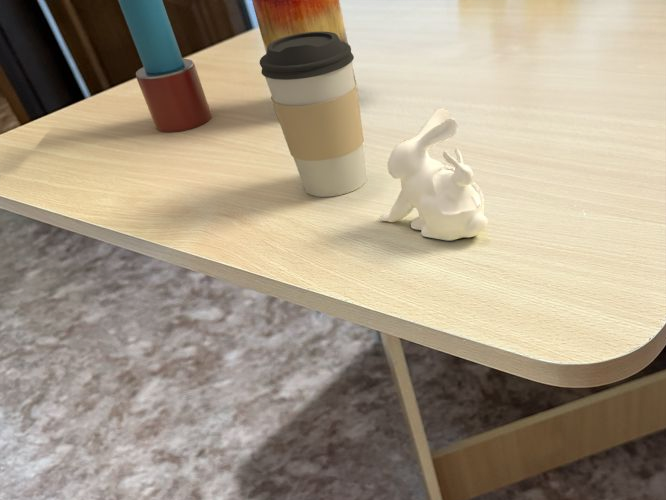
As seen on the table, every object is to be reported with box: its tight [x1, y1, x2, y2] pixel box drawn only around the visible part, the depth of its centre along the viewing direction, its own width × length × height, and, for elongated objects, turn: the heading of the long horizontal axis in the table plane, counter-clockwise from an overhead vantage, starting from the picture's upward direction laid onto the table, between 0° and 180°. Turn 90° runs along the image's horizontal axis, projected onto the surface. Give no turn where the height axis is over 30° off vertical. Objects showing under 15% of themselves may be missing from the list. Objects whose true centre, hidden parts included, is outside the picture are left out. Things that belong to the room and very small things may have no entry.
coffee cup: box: [259, 32, 368, 198], centre depth 70 cm, size 9×9×15 cm
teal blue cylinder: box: [117, 0, 184, 73], centre depth 87 cm, size 5×5×12 cm
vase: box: [251, 0, 359, 93], centre depth 90 cm, size 11×11×20 cm
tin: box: [135, 58, 213, 133], centre depth 94 cm, size 8×8×7 cm
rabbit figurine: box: [377, 107, 489, 241], centre depth 63 cm, size 12×8×10 cm, turn 47°
